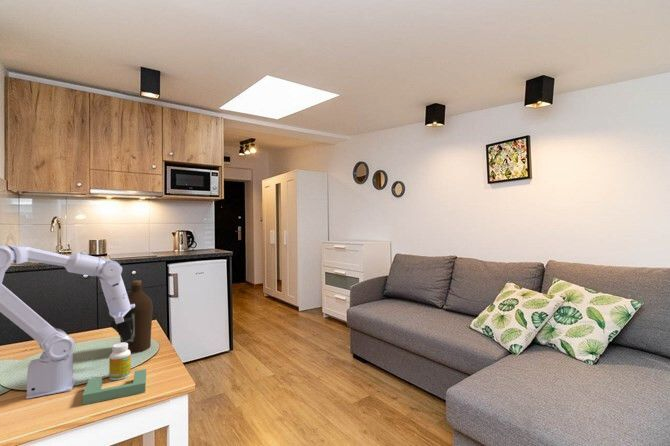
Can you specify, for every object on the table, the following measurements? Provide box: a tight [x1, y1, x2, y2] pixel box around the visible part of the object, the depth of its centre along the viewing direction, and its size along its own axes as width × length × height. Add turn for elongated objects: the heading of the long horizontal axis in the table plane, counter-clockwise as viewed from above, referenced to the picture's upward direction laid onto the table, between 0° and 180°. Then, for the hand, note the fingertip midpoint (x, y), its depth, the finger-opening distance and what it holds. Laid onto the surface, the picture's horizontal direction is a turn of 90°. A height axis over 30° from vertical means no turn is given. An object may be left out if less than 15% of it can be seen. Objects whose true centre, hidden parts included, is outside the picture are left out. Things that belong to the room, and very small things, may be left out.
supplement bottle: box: [108, 342, 132, 381], centre depth 99 cm, size 5×5×10 cm
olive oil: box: [119, 279, 154, 354], centre depth 120 cm, size 11×11×25 cm
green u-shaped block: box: [81, 368, 147, 406], centre depth 91 cm, size 14×10×2 cm
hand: (128, 334), depth 106 cm, fingers open, 7 cm apart
